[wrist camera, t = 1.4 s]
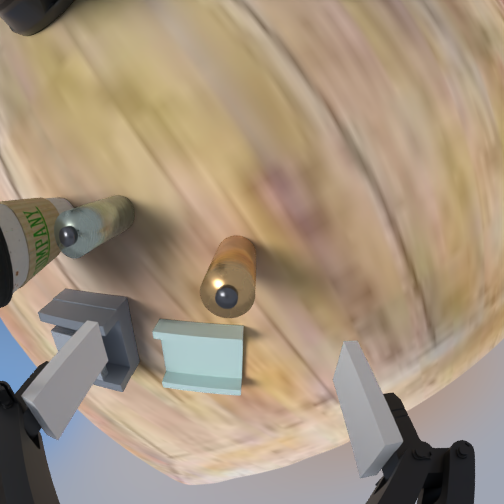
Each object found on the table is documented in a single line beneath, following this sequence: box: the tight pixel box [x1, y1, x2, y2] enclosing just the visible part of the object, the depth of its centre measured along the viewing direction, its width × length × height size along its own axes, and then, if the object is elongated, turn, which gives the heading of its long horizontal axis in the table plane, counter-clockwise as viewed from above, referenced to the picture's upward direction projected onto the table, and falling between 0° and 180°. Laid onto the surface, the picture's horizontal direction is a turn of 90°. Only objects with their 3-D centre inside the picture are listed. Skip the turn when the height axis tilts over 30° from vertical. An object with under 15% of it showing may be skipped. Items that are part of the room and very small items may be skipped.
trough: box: [152, 319, 244, 395], centre depth 31 cm, size 9×10×3 cm
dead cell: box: [54, 195, 134, 258], centre depth 23 cm, size 4×4×10 cm
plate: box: [51, 325, 108, 381], centre depth 26 cm, size 6×6×2 cm
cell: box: [200, 236, 256, 318], centre depth 24 cm, size 4×4×10 cm
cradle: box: [38, 289, 140, 392], centre depth 29 cm, size 10×10×6 cm
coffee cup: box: [0, 197, 73, 308], centre depth 21 cm, size 10×10×15 cm
